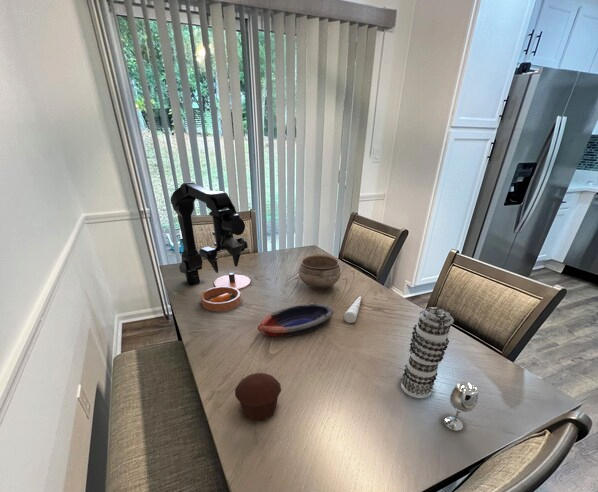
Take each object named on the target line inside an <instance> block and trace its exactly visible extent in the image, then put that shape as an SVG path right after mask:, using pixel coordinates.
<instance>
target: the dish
mask: <svg viewBox="0 0 598 492" xmlns="http://www.w3.org/2000/svg"><path fill="white" fill-rule="evenodd" d="M333 314H334V309H333V308H332V307H331V306H329V305H327V304H322V303H304V304H297V305H291V306H288V307H284V308H281V309H278V310H275V311H273V312H270V313H269V314H267V315H266V316H265V317H264V318H263V319H262V320H261V321H260V323H259V325H257V330H258V331H259V332H263V334H265V335H266V336H268V337H294V336H297V335H303V334H306V333H308V332H311V331H313V330H316V329H318V328H321V327H322V326H324V325H326V323H327V322H328V321H329V320H330V319H331V318H332V316H333Z"/></svg>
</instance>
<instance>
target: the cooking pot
mask: <svg viewBox="0 0 598 492" xmlns="http://www.w3.org/2000/svg"><path fill="white" fill-rule="evenodd" d="M340 264H341V261H340V259H339V258H338V257H336V256H333V255H330V254H322V253H315V254H309V255H305V256H303V257H301V259H300V265H299V268H298V277H299V279H300V280H301V282H303V283H304V284H305V285H306V286H308V287H310V288H313V289H315V290H324V289H327V288H329V287H332V286H334V285H335V284H337V282H338V281H339V279H340V278H341V276H342V275H341V267H340Z"/></svg>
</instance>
